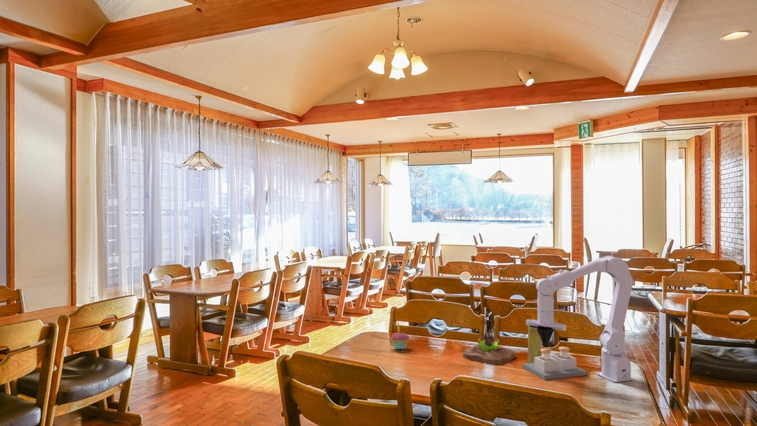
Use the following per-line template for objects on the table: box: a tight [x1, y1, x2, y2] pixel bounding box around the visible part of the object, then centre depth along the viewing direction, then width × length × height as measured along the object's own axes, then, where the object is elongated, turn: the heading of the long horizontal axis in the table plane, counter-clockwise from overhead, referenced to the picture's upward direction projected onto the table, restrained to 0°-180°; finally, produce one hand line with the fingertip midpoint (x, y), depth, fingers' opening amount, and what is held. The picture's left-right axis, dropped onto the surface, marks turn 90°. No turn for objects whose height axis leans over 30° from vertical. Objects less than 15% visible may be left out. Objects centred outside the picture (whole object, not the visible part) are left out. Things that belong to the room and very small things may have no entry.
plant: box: [462, 329, 516, 365], centre depth 194 cm, size 20×20×11 cm
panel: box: [521, 354, 587, 381], centre depth 175 cm, size 14×18×5 cm
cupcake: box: [390, 322, 410, 350], centre depth 206 cm, size 9×8×12 cm
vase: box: [526, 325, 543, 363], centre depth 186 cm, size 6×6×14 cm
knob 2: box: [558, 346, 570, 359], centre depth 175 cm, size 4×4×5 cm
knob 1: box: [541, 347, 552, 361], centre depth 173 cm, size 4×4×5 cm
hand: (545, 346), depth 173 cm, fingers closed
